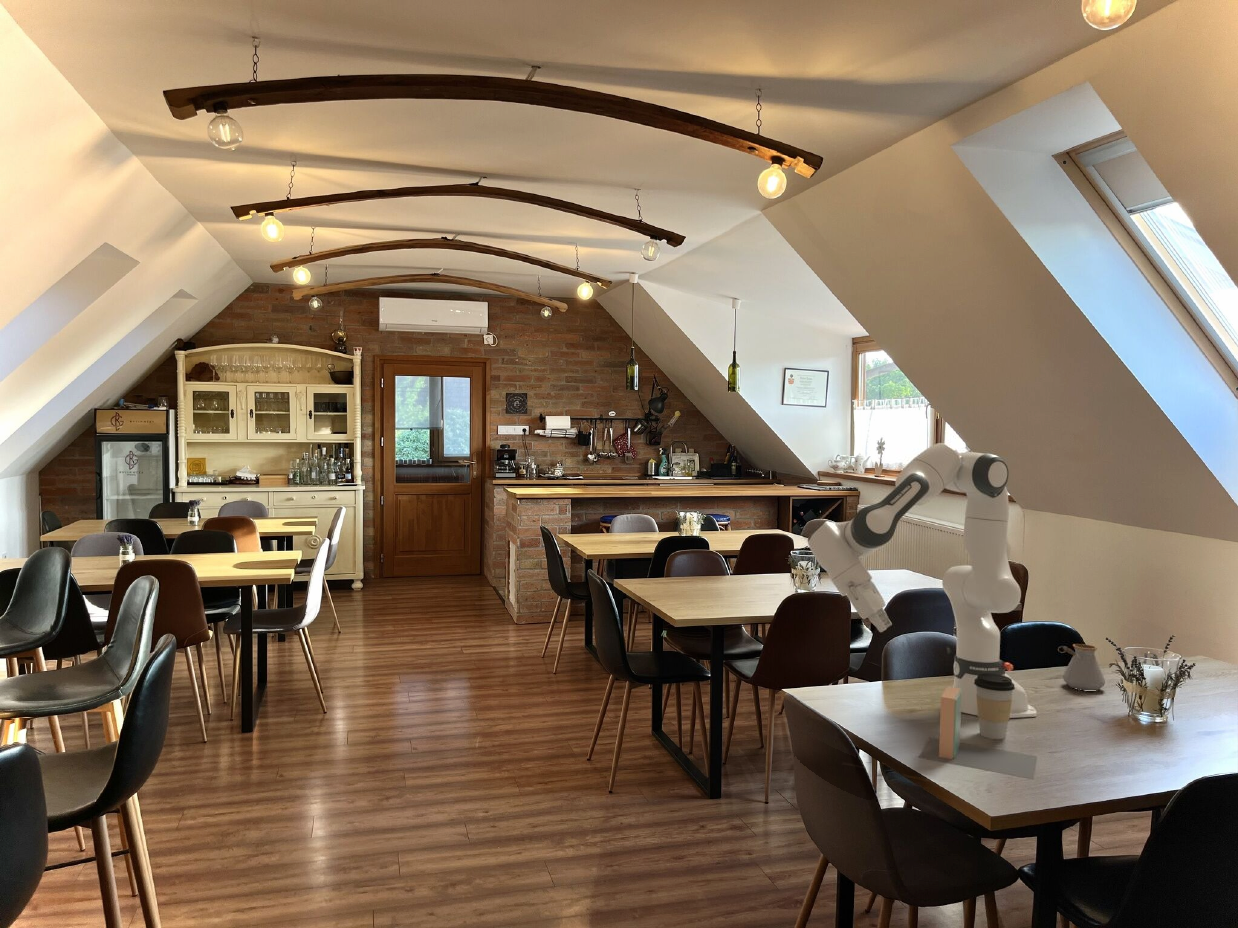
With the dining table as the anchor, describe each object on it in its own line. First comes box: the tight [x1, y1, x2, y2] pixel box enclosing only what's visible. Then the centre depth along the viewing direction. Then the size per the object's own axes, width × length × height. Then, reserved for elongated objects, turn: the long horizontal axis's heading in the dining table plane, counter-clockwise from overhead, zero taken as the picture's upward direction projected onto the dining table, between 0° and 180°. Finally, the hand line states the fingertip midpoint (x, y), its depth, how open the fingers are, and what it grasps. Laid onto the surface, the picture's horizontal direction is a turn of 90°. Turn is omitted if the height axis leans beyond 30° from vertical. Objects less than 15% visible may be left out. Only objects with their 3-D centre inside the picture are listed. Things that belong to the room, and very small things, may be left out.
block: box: [939, 686, 962, 759], centre depth 203 cm, size 3×10×14 cm, turn 151°
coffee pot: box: [1057, 643, 1106, 690], centre depth 259 cm, size 21×12×15 cm, turn 128°
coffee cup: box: [974, 673, 1015, 740], centre depth 216 cm, size 9×9×15 cm
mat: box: [918, 736, 1038, 780], centre depth 200 cm, size 24×16×1 cm, turn 61°
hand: (886, 628), depth 212 cm, fingers open, 8 cm apart
